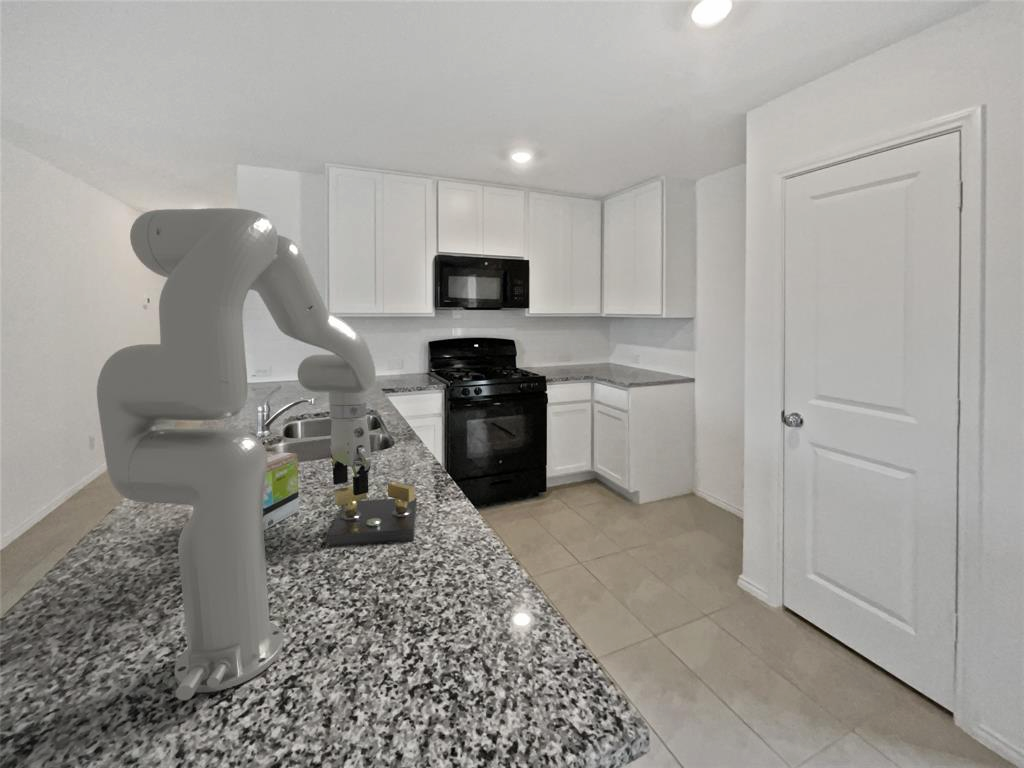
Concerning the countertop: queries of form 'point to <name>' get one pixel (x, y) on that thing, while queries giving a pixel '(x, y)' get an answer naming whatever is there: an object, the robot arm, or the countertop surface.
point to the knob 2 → (401, 495)
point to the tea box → (280, 488)
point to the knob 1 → (348, 499)
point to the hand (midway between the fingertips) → (350, 488)
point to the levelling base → (374, 524)
